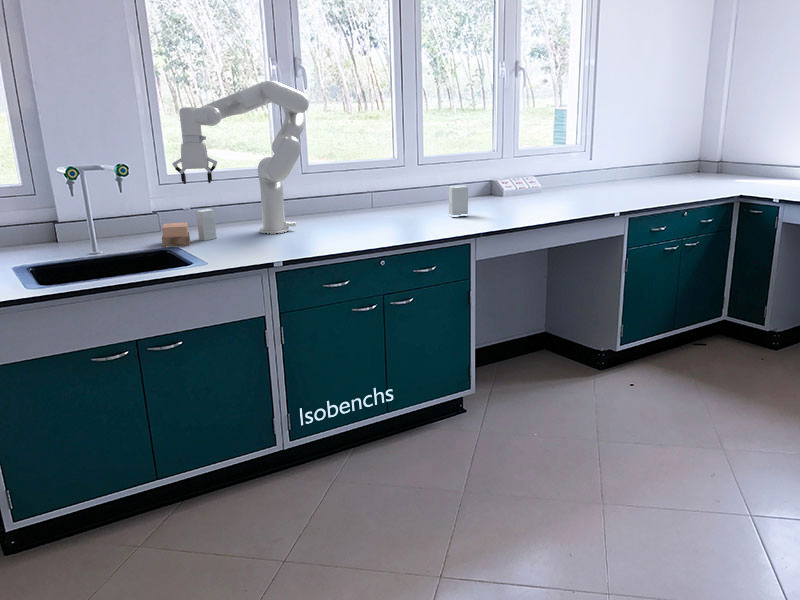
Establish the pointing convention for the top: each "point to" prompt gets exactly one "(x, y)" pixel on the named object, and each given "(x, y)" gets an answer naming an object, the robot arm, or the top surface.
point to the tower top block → (175, 230)
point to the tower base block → (176, 241)
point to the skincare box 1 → (206, 224)
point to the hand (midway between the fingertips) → (197, 183)
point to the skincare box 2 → (458, 200)
